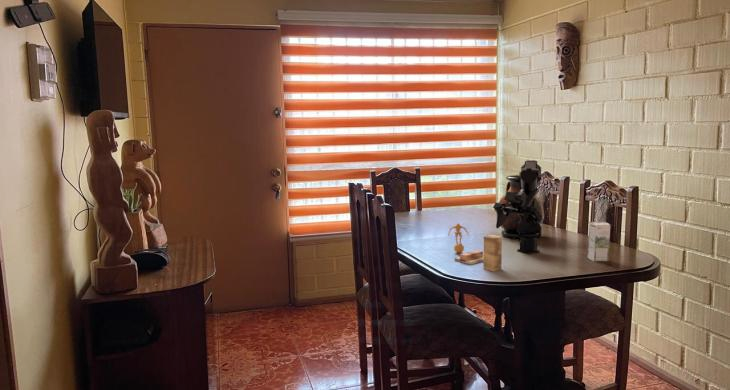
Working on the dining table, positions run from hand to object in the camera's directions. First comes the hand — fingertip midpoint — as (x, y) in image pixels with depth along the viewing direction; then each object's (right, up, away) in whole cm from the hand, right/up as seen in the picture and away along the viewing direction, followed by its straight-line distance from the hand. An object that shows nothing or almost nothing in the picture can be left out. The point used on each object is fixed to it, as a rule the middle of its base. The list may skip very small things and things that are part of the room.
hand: (506, 229), depth 199 cm
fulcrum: (-10, -12, +10) cm, 19 cm away
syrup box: (+37, -12, +7) cm, 39 cm away
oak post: (-6, -14, -3) cm, 16 cm away
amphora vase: (+20, -7, +53) cm, 57 cm away
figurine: (-14, -11, +23) cm, 29 cm away
